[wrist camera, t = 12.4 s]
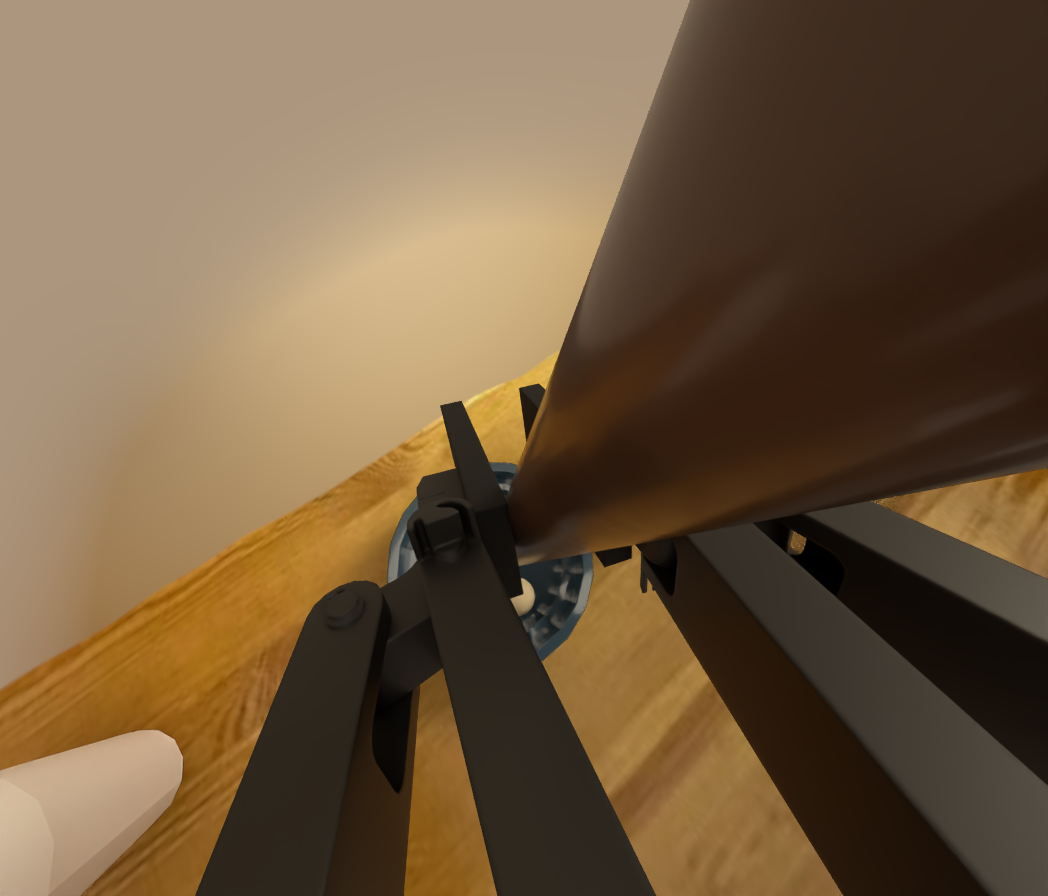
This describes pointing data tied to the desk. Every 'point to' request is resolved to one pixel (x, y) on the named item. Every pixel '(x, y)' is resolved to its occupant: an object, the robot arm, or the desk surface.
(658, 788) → the desk surface
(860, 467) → the stick
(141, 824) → the foam cup
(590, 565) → the bowl
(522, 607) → the dough ball
